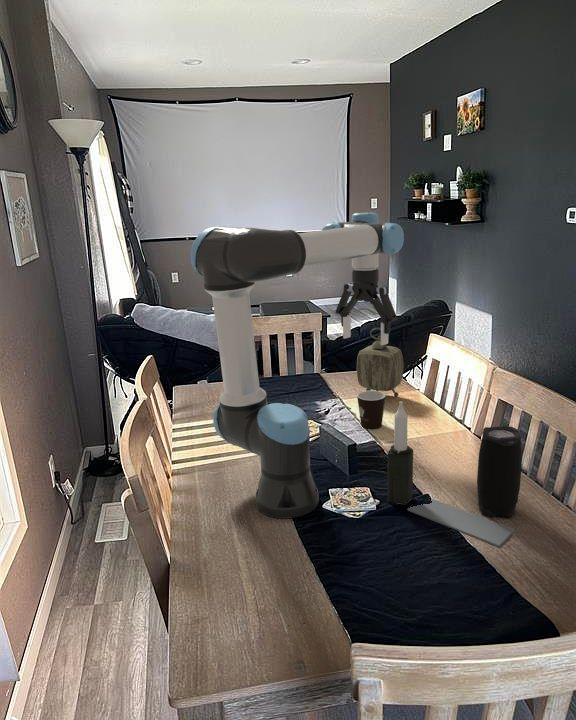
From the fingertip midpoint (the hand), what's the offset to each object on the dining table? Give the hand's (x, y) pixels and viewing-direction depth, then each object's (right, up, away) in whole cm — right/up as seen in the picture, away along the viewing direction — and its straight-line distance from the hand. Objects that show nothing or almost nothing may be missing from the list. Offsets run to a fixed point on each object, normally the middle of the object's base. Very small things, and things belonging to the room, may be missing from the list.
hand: (365, 341), depth 173 cm
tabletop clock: (+9, -19, +34) cm, 40 cm away
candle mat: (+15, -41, -43) cm, 61 cm away
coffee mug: (+3, -26, +12) cm, 29 cm away
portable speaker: (+25, -40, -40) cm, 61 cm away
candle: (+4, -39, -33) cm, 51 cm away
